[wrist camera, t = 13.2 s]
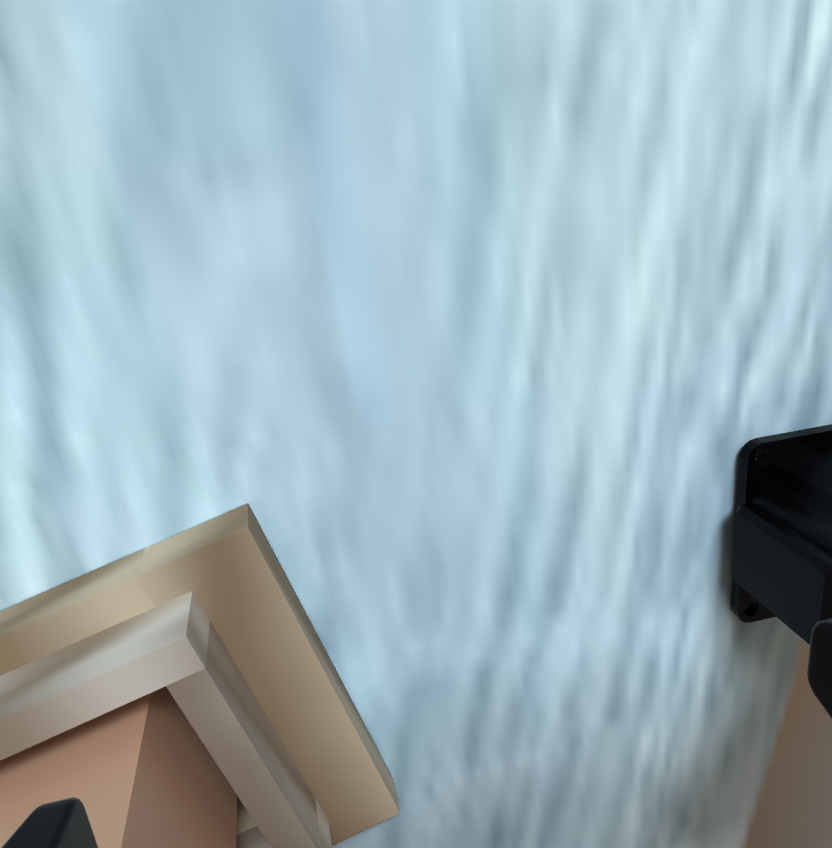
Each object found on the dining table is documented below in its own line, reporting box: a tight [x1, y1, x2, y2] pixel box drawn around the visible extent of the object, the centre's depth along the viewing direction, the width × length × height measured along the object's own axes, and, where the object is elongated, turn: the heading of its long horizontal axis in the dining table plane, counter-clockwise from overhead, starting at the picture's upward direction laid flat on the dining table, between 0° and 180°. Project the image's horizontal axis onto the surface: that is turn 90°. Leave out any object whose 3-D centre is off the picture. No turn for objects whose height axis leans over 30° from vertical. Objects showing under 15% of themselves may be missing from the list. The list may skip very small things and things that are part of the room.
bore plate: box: [0, 503, 400, 848], centre depth 20 cm, size 13×11×4 cm
